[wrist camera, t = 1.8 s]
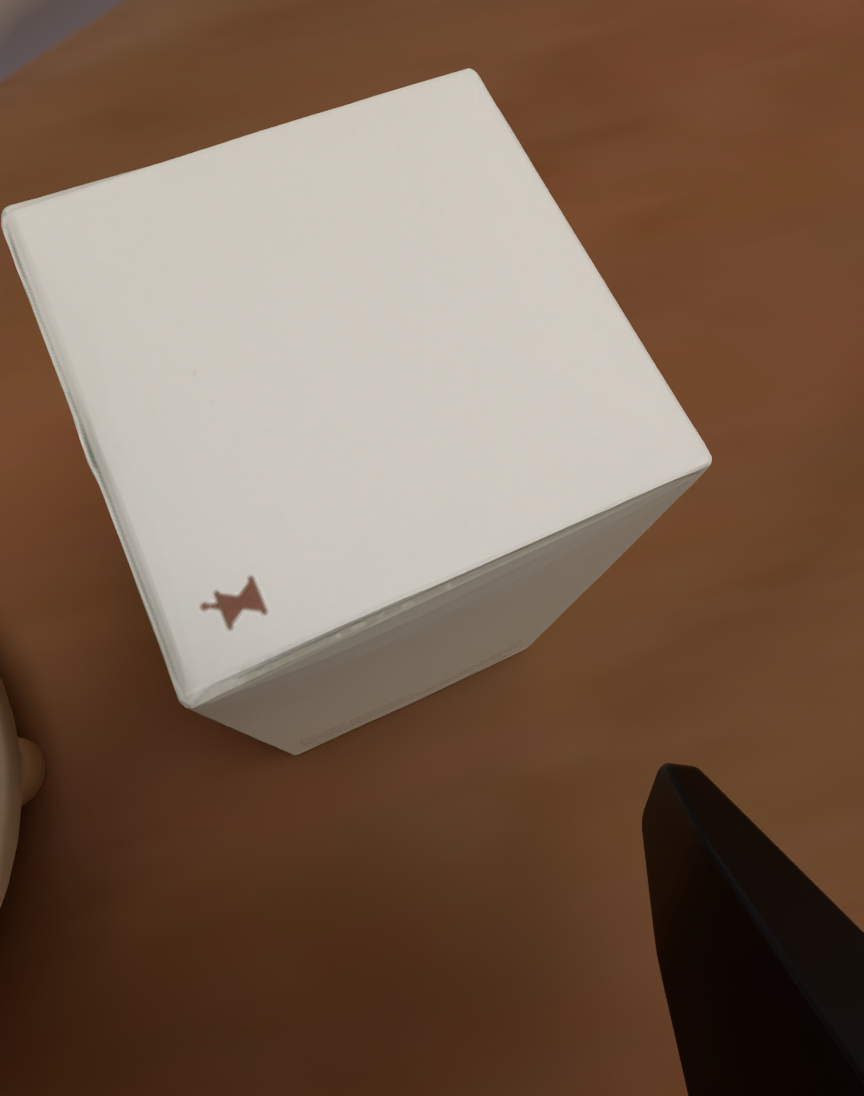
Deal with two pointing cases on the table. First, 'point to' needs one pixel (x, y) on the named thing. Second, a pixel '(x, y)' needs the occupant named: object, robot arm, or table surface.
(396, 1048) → the table surface
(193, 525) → the supplement box
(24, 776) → the stool
